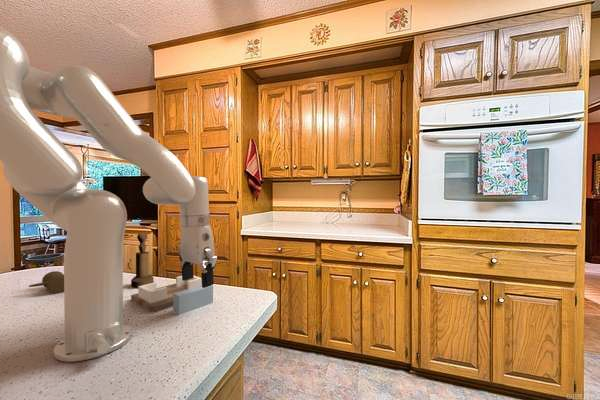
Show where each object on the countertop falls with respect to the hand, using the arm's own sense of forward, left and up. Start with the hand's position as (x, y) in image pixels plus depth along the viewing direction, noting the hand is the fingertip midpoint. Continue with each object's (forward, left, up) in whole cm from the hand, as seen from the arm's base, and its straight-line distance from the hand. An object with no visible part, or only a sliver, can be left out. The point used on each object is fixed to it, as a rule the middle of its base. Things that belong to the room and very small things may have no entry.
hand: (197, 282), depth 74 cm
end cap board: (+12, +1, -6) cm, 14 cm away
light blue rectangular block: (0, +1, -7) cm, 7 cm away
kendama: (+48, +17, -7) cm, 51 cm away
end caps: (+12, +1, -5) cm, 13 cm away
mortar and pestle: (+31, +2, -7) cm, 32 cm away
